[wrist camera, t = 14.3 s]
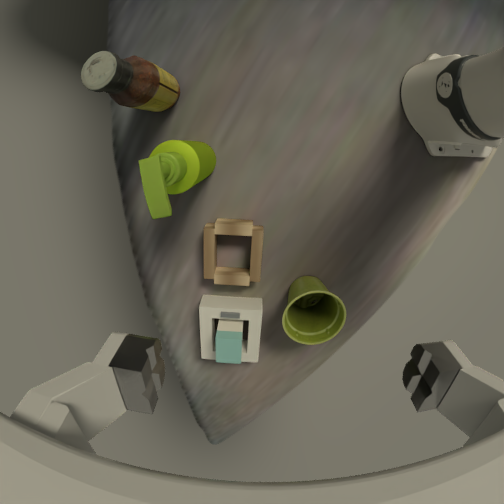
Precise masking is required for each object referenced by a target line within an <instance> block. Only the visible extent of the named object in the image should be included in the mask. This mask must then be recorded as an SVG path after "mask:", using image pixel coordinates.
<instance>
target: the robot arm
mask: <svg viewBox="0 0 504 504" xmlns="http://www.w3.org/2000/svg"><path fill="white" fill-rule="evenodd" d="M401 98H402V104H403V108H404V111H405V114H406V116H407V118H408V120H409V122H410V124H411V125H412V126H413V128H414V129H415V130H416V131H417V133H418V134H419V135H420V136H421V137H422V139H423V140H424V143H425V145H426V148H427V150H428V152H429V153H430V155H432V156H459V157H488V156H489V154H490V152H491V150H492V147H495V148H497V147H498V146H499V145H500V143H501V141H502V138H504V47H503V48H501V49H498V50H496V51H493V52H491V53H488V54H485V55H481V56H478V55H467V56H462V57H461V56H460V55H458V54H454V55H449V56H444V57H441V56H440V55H438V54H431V55H429V56H428V57H427V59H426V60H425V62H423V63H421V64H418V65H415V66H413V67H412V68H411V69H410V70H409V71H408V72H407V73H406V75H405V77H404V79H403V82H402V87H401ZM439 147H440V151H439ZM161 351H162V346H161V341H160V340H159V339H158V338H152V337H145V336H139V335H133V334H126V333H121V332H113V333H111V335H110V336H109V338H108V339H107V341H106V342H105V344H104V345H103V347H102V348H101V350H100V351H99V353H98V354H97V356H96V357H95V359H94V360H93V362H92V363H90V362H87V363H84V364H83V365H80V366H78V367H76V368H74V369H72V370H70V371H68V372H66V373H64V374H62V375H60V376H58V377H55V378H53V379H51V380H49V381H47V382H45V383H43V384H41V385H38V386H36V387H34V388H32V389H30V390H29V391H28V392H27V394H26V395H25V396H24V398H23V399H22V401H21V402H20V403H19V405H18V406H17V408H16V409H15V411H14V412H13V414H12V415H11V416H10V417H8V416H7V415H5V414H3V413H1V412H0V504H504V380H502V379H500V378H498V377H496V376H494V375H493V374H491V373H489V372H487V371H485V370H483V369H481V368H479V367H477V366H473V365H472V364H471V363H470V361H469V360H468V359H467V358H466V356H465V355H464V354H463V352H461V350H460V349H459V347H458V346H457V345H456V344H455V343H454V341H452V340H445V341H439V342H432V343H423V344H416V345H415V346H414V347H413V349H412V351H411V357H412V359H411V360H410V361H409V362H408V363H406V366H405V368H404V371H403V383H404V386H405V388H406V390H408V391H409V392H411V393H412V396H411V400H412V402H413V404H414V406H415V408H416V411H417V412H422V411H427V410H432V409H437V410H438V411H439V412H440V413H441V414H442V415H444V416H445V417H446V418H447V419H448V420H450V421H451V422H452V423H453V424H455V425H456V426H457V427H458V428H459V429H460V430H462V431H463V432H464V433H465V434H466V435H468V436H469V437H470V438H469V439H468V441H467V442H466V443H465V444H464V446H463V447H461V448H459V449H456V450H453V451H450V452H447V453H445V454H442V455H439V456H436V457H432V458H429V459H426V460H423V461H419V462H416V463H412V464H408V465H405V466H401V467H396V468H392V469H388V470H383V471H378V472H373V473H367V474H362V475H355V476H349V477H341V478H333V479H324V480H313V481H297V482H241V481H225V480H213V479H205V478H197V477H189V476H182V475H176V474H171V473H165V472H160V471H155V470H150V469H145V468H141V467H137V466H133V465H129V464H125V463H122V462H118V461H115V460H111V459H108V458H104V457H101V456H98V455H96V453H95V451H94V450H93V449H92V447H91V445H90V444H89V442H88V441H89V440H90V439H92V438H93V437H94V436H95V435H97V434H98V433H99V432H101V431H102V430H103V429H104V428H106V427H107V426H108V425H110V424H111V423H112V422H113V421H115V420H116V419H117V418H119V417H120V416H121V415H122V414H124V413H125V412H126V411H127V410H131V411H137V412H142V413H149V414H153V412H154V409H155V406H156V403H157V400H158V396H157V391H158V390H160V389H161V388H162V385H163V382H164V376H165V364H164V360H163V359H162V358H161V357H160V353H161Z"/></svg>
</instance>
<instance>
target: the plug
mask: <svg viewBox="0 0 504 504" xmlns="http://www.w3.org/2000/svg"><path fill="white" fill-rule="evenodd" d="M215 339H216V362H221V363H236V364H241V355H242V339H243V320H232V319H219V322H218V327H217V333H216V338H215Z"/></svg>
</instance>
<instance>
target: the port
mask: <svg viewBox="0 0 504 504" xmlns="http://www.w3.org/2000/svg"><path fill="white" fill-rule="evenodd" d="M262 311H263V310H262V298H249V297H232V296H216V295H203V296H202V299H201V302H200V305H199V318H200V339H201V357H202V359H212V360H216V339H215V318H217V319H232V320H249V326H248V340H243V339H242V355H241V362H258V356H259V345H260V334H261V323H262Z"/></svg>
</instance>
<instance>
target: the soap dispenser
mask: <svg viewBox="0 0 504 504" xmlns="http://www.w3.org/2000/svg"><path fill="white" fill-rule="evenodd" d="M215 165H216V156H215V153H214V151H213V150H212V148H211V147H210V146H209V145H207V144H205V143H203V142H197V141H182V140H170V141H166V142H163V143H161V144H160V145H158V146H157V147H156V148H155V149H154V150H153V151H152V153H151V155H150V157H149V158H146V159H143V160H139V167H140V173H141V179H142V184H143V189H144V194H145V198H146V201H147V205H148V208H149V211H150V214H151V217H152V219H157V218H162V217H168V216H171V215H172V208H171V205H170V201H169V198H168V194H179V193H183V192H185V191H187V190H188V189H190V188H191V187H193V186H194V185H196V184H197V183H199V182H200V181H202V180H203V179H205V178H206V177H208V176H209V175H210V174H211V173H212V172H213V170H214V168H215Z"/></svg>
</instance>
